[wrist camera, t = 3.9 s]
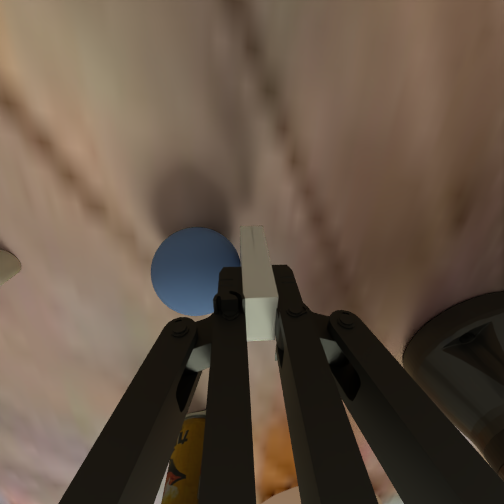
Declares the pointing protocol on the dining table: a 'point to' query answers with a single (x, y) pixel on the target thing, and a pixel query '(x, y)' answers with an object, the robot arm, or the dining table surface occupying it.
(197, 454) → the condiment
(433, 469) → the robot arm
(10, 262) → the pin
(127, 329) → the dining table surface
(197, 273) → the ball
